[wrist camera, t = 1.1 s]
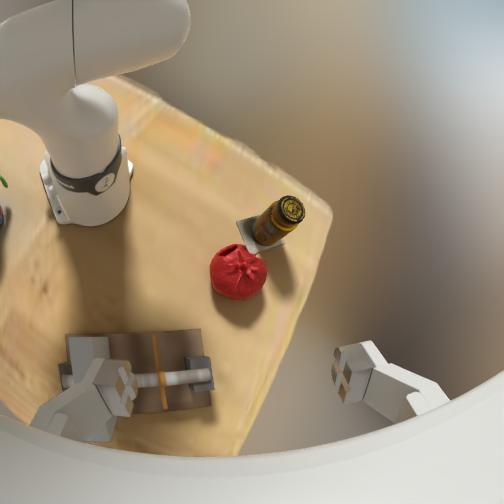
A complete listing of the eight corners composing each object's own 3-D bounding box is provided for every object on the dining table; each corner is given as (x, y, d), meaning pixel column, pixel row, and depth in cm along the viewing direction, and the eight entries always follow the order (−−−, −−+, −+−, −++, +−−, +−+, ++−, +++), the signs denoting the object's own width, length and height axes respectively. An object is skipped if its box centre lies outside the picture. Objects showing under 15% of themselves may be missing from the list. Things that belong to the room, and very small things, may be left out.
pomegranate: (254, 305, 52) (277, 299, 44) (202, 298, 49) (216, 292, 40) (257, 254, 55) (279, 240, 47) (208, 246, 52) (222, 229, 43)
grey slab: (102, 412, 35) (87, 441, 22) (91, 336, 38) (68, 337, 25) (119, 412, 36) (110, 441, 23) (108, 336, 39) (91, 337, 26)
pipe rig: (78, 412, 34) (65, 427, 26) (66, 333, 37) (49, 333, 29) (210, 404, 43) (224, 418, 35) (199, 328, 47) (211, 327, 39)
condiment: (284, 243, 58) (316, 221, 47) (249, 255, 54) (277, 234, 44) (270, 212, 59) (298, 185, 48) (235, 222, 55) (258, 194, 45)
